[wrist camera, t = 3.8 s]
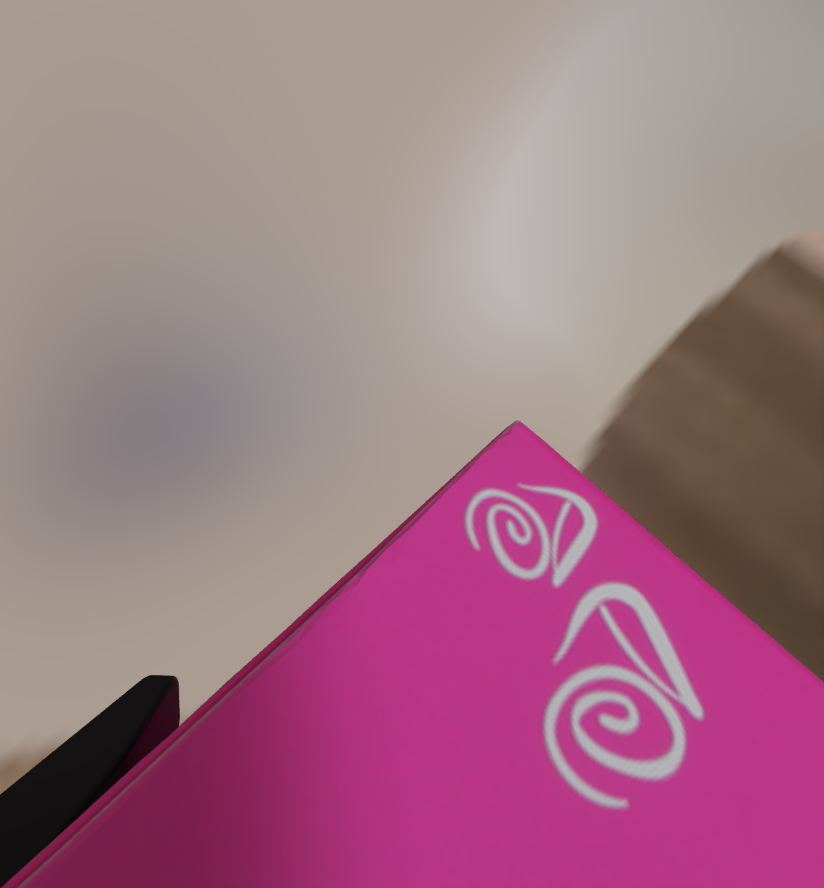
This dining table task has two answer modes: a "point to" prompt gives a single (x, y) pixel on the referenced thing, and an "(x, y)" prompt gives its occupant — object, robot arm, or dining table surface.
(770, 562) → the dining table surface
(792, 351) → the dining table surface
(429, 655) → the supplement box
